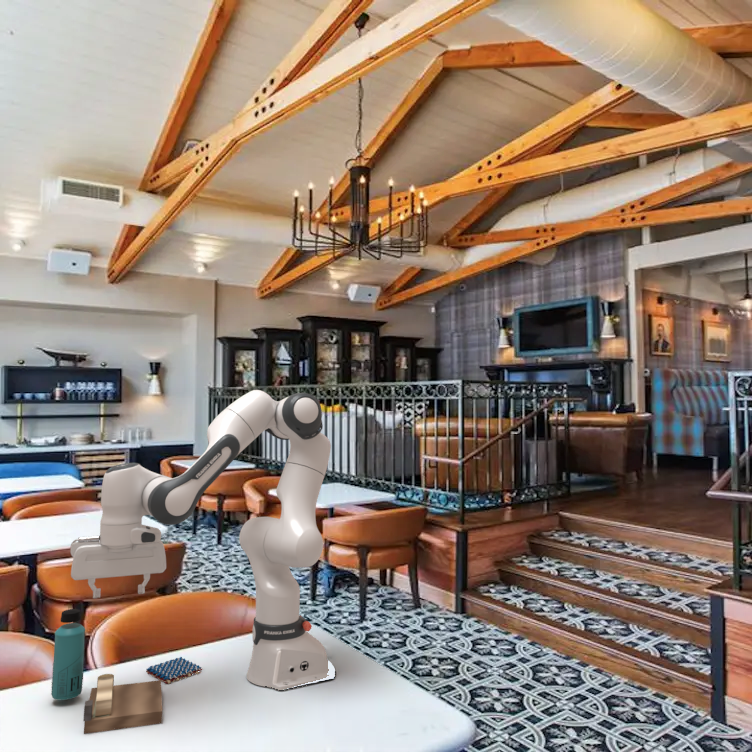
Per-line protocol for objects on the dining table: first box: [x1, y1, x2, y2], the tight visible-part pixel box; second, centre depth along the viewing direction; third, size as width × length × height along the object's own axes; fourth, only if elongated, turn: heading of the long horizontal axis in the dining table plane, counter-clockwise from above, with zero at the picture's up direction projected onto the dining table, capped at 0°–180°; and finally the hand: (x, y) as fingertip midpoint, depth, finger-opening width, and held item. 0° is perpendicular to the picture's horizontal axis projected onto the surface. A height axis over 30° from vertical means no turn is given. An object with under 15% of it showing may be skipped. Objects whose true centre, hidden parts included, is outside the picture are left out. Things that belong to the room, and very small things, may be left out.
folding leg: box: [95, 673, 115, 716], centre depth 134 cm, size 14×3×3 cm, turn 22°
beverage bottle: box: [50, 608, 86, 701], centre depth 140 cm, size 6×7×20 cm
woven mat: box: [145, 656, 203, 685], centre depth 156 cm, size 10×11×2 cm
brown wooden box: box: [83, 679, 163, 735], centre depth 135 cm, size 15×16×6 cm
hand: (119, 595), depth 141 cm, fingers open, 8 cm apart
